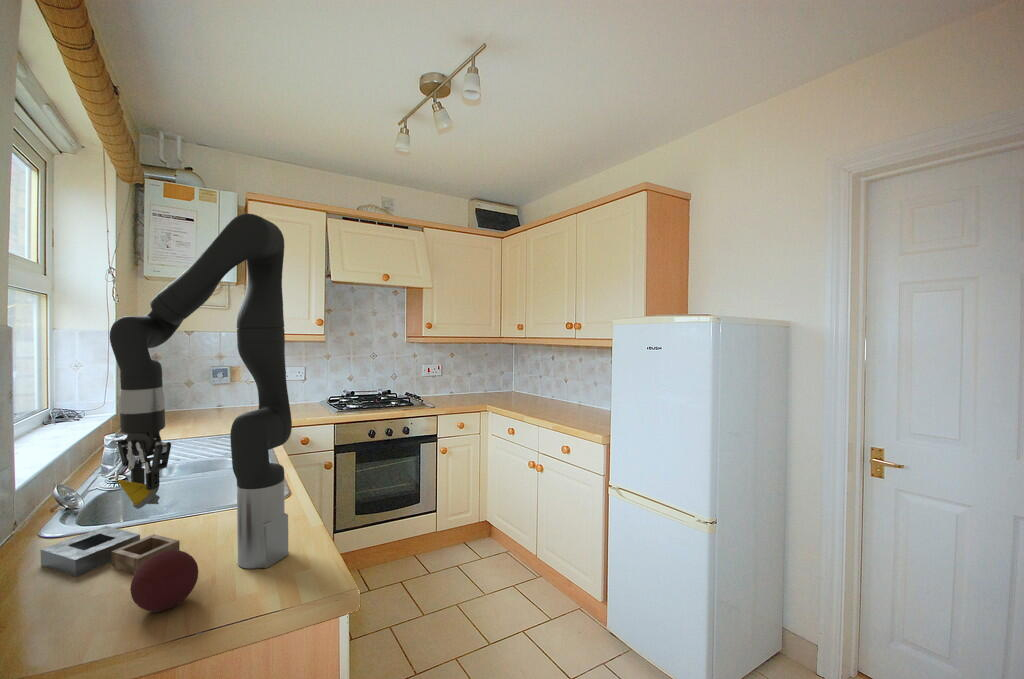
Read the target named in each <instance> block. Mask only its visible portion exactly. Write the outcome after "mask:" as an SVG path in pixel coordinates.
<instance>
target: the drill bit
mask: <svg viewBox="0 0 1024 679" xmlns="http://www.w3.org/2000/svg"><path fill="white" fill-rule="evenodd" d="M116 481H117V482H118V484H119V485H120V486H121V488H122V489H123V491H124V493H125V494H126V495H127V497H128V498H129V500H130V501H131V502H132V507H133V508H135V509H137V510H139V509H141V508H143V507H145V506H146V505H160V503H159V500H160V499H161V496H159V495H158V494H157V493H158V491H159V488H160V486H159V487H158V488H156V489H153V490H147V489H146V483H144V485H143V484H141V483H136V482H131V480H130V481H129V480H123V479H116Z"/></svg>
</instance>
